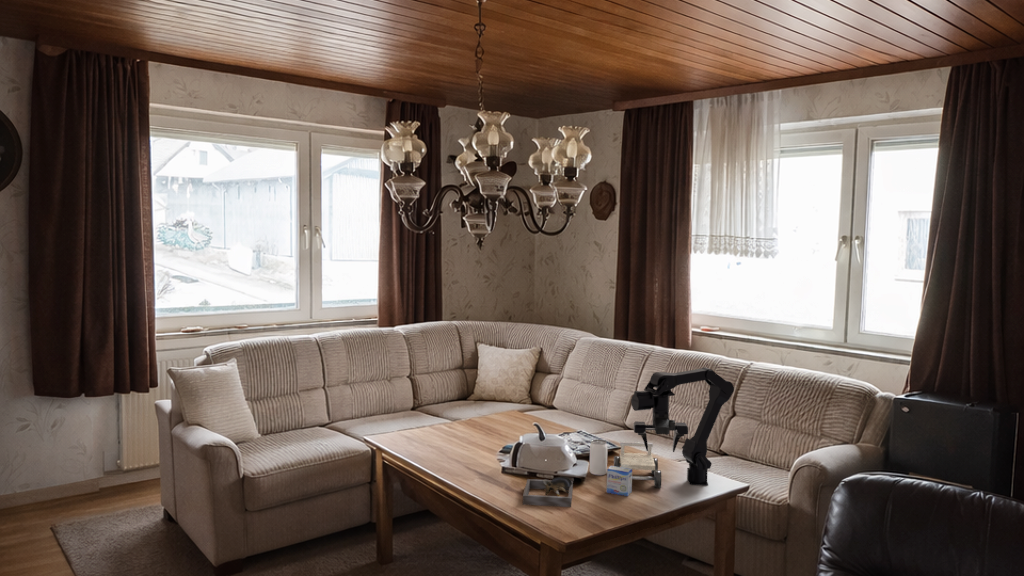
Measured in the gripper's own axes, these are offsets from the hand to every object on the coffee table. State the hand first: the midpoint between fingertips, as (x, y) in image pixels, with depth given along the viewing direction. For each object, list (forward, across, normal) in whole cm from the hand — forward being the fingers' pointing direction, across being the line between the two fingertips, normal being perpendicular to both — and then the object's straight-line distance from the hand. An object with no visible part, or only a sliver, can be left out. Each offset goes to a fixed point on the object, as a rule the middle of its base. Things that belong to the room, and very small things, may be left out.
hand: (660, 451), depth 254 cm
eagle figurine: (+12, -36, -13) cm, 40 cm away
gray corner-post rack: (+13, -8, +6) cm, 16 cm away
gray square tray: (+12, -39, -16) cm, 44 cm away
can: (+13, -22, +11) cm, 28 cm away
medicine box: (+13, -15, -8) cm, 21 cm away
